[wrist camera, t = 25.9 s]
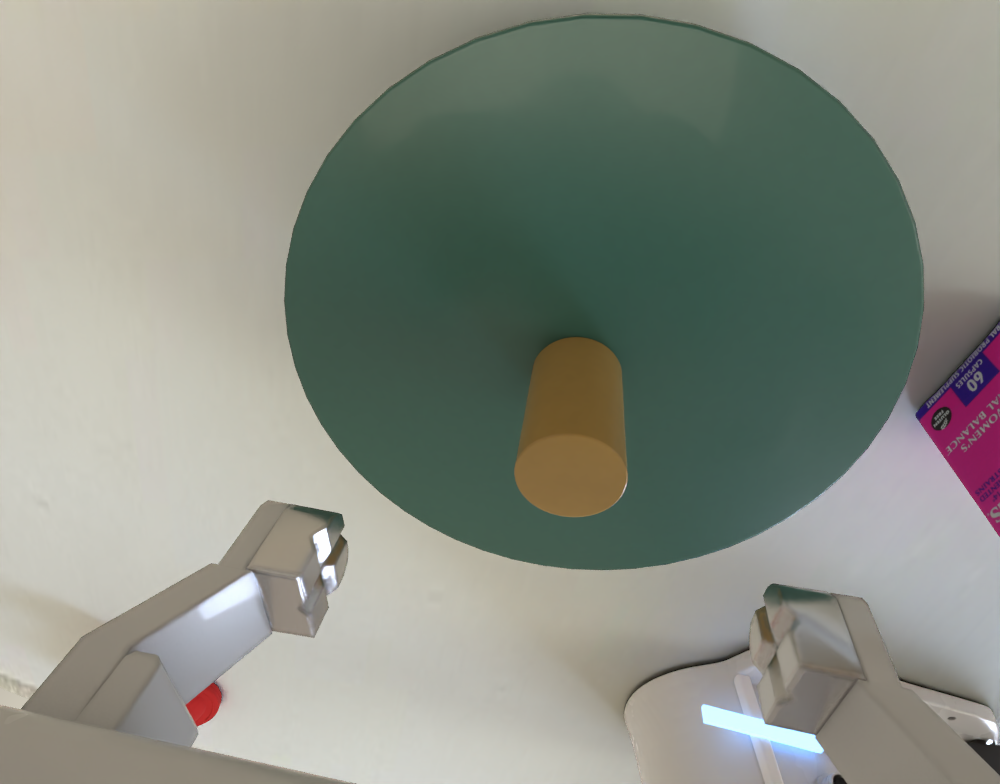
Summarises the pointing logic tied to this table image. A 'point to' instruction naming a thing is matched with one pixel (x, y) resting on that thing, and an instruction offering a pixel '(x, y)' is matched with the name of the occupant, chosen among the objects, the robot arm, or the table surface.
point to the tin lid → (604, 292)
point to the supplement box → (971, 425)
